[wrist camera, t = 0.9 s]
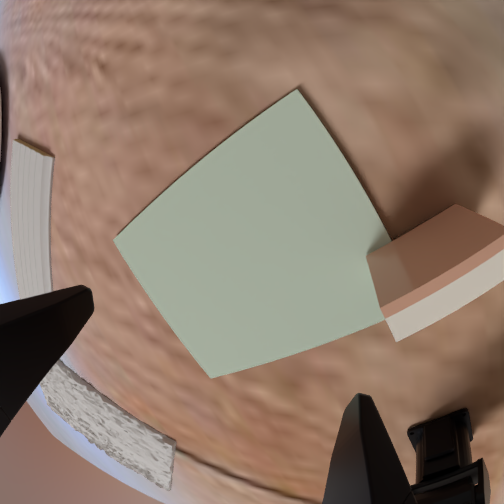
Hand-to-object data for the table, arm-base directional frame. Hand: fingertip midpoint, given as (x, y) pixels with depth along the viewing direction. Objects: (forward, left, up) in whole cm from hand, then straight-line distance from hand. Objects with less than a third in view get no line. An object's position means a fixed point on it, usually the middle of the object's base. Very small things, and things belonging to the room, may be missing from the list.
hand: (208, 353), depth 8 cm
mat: (0, +5, -13) cm, 14 cm away
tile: (-4, -7, -13) cm, 15 cm away
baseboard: (+15, +33, -14) cm, 38 cm away
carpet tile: (-13, +56, -14) cm, 59 cm away
